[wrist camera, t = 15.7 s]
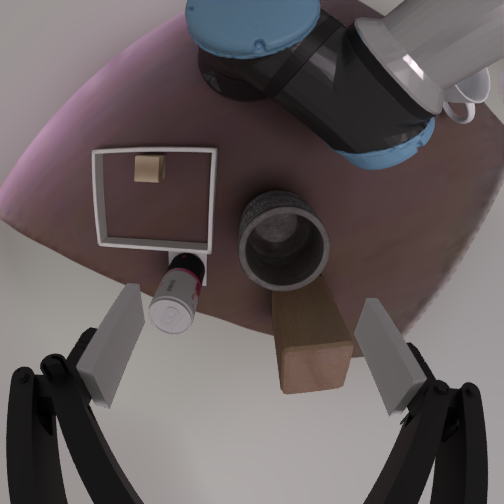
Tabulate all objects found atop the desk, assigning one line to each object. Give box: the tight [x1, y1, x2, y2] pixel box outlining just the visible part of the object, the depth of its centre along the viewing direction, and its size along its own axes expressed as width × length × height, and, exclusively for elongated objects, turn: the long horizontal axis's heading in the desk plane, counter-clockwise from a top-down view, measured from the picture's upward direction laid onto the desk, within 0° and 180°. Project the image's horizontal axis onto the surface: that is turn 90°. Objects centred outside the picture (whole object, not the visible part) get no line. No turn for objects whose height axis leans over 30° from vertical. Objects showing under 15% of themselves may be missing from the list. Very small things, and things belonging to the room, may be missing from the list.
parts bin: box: [92, 146, 218, 254], centre depth 44 cm, size 17×21×3 cm
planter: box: [238, 190, 330, 291], centre depth 42 cm, size 12×12×13 cm
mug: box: [443, 67, 490, 124], centre depth 30 cm, size 15×11×13 cm
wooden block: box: [272, 276, 354, 394], centre depth 45 cm, size 10×10×20 cm
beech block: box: [135, 154, 166, 182], centre depth 41 cm, size 4×4×4 cm
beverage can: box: [148, 253, 205, 335], centre depth 44 cm, size 7×7×15 cm
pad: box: [168, 251, 207, 286], centre depth 51 cm, size 7×7×1 cm
